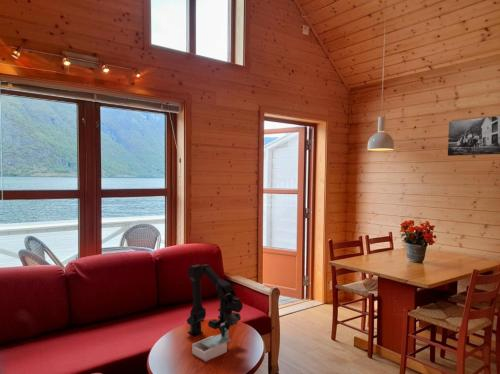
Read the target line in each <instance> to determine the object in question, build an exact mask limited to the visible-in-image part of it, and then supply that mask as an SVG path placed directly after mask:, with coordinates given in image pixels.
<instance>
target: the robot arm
mask: <svg viewBox="0 0 500 374" xmlns="http://www.w3.org/2000/svg"><path fill="white" fill-rule="evenodd" d="M187 274H188V278H189V280H190V281H191V290H192V291H191V292H192V308H191V310H190V316H188V318H187V319H186V323H187V324H188V325H189V331H187V334H189V335H191V336H193V337H196V336H198V335H201V334H203V333H204V331H202V323H203V322H204V321H205V319H206V316H207V314H206V312H207V311H206V309H207V308H205V307H204V306H203V304H202V303H203V301H202V288H201V287H202V286H201V285H202V284H201V282H202V281H201V280H202V278H203V276H205V277H206V278H207V279H208V280H209V281H210V282H211V283H212V284H213V285H214V286H215V290H216V292H217V293H218V295H217V296H216V297H217V299H219V308H217V312H219V315H218V316H217V318H218V320H217V319H215V318H214V319H211V320H209V321H208V322H207V323H208V324H207V326H208V327H210V328H211V329H214V330H219V332H220V334H222V336H223V337H224V333H225V328H226V329H228V330H229V331H230V327H233V326H235V325H237V324H238V322H239V321H240V320H241V318H242V317H241V314H240V312H241V311H242V309H243V306H244V305H243V303H242V301H241V299H240V298H238V297H237V294H236V292H235V289H234V288H233V285H232V284H231V283H230V282H229V281H227V280H224V279H223V278H222V277H220V276H219V275H218V274H217V272H215V271H214V270H213V269H212V267H211V266H210V264H202V265H201V264H195V265H191V266H189V267H188V269H187Z"/></svg>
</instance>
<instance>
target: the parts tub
mask: <svg viewBox="0 0 500 374" xmlns="http://www.w3.org/2000/svg"><path fill="white" fill-rule="evenodd" d="M214 336H215V335H211V336H208V337H206V338H203V339H202V340H199V341H196V342H193V343H191V344H192V345H191V348H192V349H191V351H192V352H191V354H192V355H194V356H195V357H197V358H199V359H200V360H202V361H204V362H205V363H206V362H208V361H210V360H212V359H214V358H217V357H219V356H221V355H223V354H226V353H227V351H228V342H224V343H222V344H220V345H218V346H215V347H213V348H211V349H210V348H208V347H206V346H204V345H202V344H201V343H200V342H202V341H205V340H207V339H210V338H212V337H214Z"/></svg>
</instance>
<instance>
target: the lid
mask: <svg viewBox="0 0 500 374" xmlns="http://www.w3.org/2000/svg"><path fill="white" fill-rule="evenodd" d="M229 332H230V329H229V330H228V329H226V328H225V333H224V337H223V336H222V334H221V333H219V334H217V335H213V336H214V337H212V338H210V339H207V340H205V341H202V342H200V343H201V344H202V345H204V346H206V347H208V348H210V349H211V348H213V347H215V346H218V345H220V344H222V343H224V342H227V343H229V342H231V341H232V339H231V338H230V337H229V334H230V333H229Z"/></svg>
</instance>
